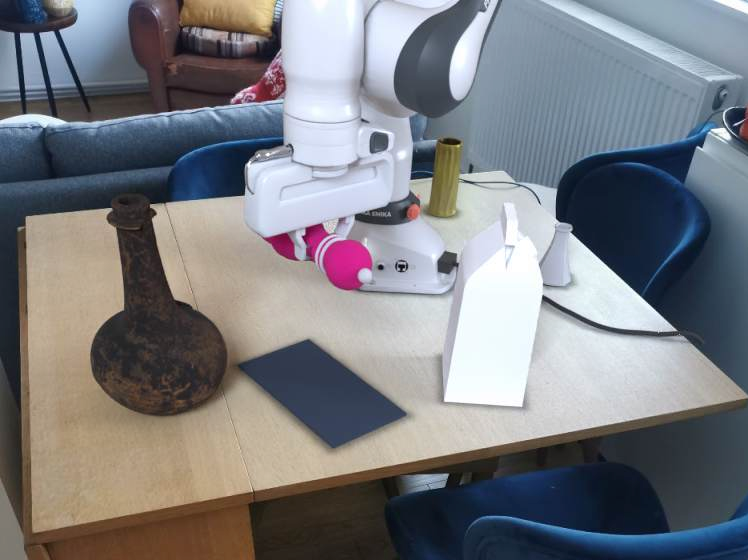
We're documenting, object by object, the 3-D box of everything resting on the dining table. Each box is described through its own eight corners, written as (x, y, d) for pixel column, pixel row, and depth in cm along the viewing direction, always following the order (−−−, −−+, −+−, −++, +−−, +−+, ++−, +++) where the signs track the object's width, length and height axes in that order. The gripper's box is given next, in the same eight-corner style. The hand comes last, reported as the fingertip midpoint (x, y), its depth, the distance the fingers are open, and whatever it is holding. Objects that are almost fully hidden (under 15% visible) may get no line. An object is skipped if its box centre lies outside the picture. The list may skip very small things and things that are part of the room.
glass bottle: (248, 373, 113) (233, 182, 94) (200, 445, 100) (172, 241, 81) (136, 353, 115) (100, 162, 96) (76, 420, 102) (20, 216, 83)
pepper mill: (274, 256, 104) (364, 317, 94) (243, 223, 98) (335, 285, 88) (307, 214, 104) (401, 272, 94) (278, 179, 98) (375, 236, 87)
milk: (442, 357, 120) (464, 190, 102) (514, 362, 120) (549, 196, 102) (444, 401, 111) (468, 228, 93) (522, 406, 111) (561, 234, 93)
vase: (425, 215, 159) (432, 144, 149) (429, 204, 164) (436, 134, 154) (454, 219, 159) (463, 147, 149) (457, 208, 163) (466, 137, 153)
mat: (238, 366, 114) (237, 364, 114) (308, 341, 121) (308, 338, 120) (333, 448, 101) (333, 446, 101) (406, 415, 108) (406, 412, 108)
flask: (528, 281, 140) (539, 229, 133) (537, 266, 145) (548, 214, 138) (566, 291, 138) (579, 238, 132) (574, 274, 143) (587, 223, 136)
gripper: (260, 162, 80) (265, 284, 90) (405, 132, 90) (396, 244, 100) (229, 144, 83) (237, 263, 93) (372, 117, 94) (366, 227, 103)
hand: (320, 253), depth 96 cm, fingers closed on pepper mill, 4 cm apart
